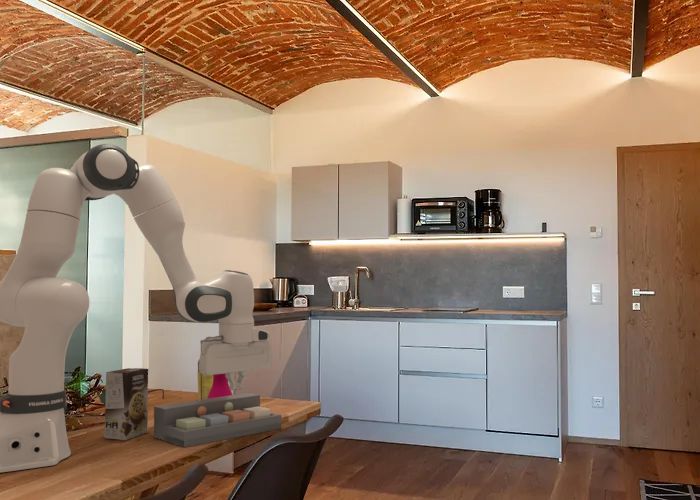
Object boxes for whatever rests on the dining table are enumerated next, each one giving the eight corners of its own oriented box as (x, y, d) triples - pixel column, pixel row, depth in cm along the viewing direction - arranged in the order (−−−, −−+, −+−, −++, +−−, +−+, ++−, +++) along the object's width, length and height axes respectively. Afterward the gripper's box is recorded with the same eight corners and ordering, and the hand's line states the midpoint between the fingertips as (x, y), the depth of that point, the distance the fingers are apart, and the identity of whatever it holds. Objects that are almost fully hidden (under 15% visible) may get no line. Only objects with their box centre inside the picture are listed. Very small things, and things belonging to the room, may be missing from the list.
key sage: (187, 431, 162) (187, 422, 162) (175, 428, 166) (176, 419, 166) (205, 428, 166) (205, 419, 166) (194, 425, 169) (194, 416, 169)
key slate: (210, 427, 167) (211, 418, 167) (199, 424, 170) (199, 415, 171) (228, 424, 170) (228, 416, 170) (216, 421, 174) (216, 413, 174)
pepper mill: (227, 419, 191) (228, 346, 192) (202, 418, 192) (203, 345, 193) (237, 414, 198) (237, 343, 199) (213, 413, 200) (213, 343, 200)
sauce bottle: (223, 404, 213) (223, 339, 214) (208, 407, 208) (209, 341, 209) (207, 402, 217) (208, 338, 217) (192, 405, 211) (193, 339, 212)
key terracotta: (233, 423, 171) (233, 415, 172) (221, 420, 175) (221, 412, 175) (249, 420, 175) (249, 412, 175) (238, 417, 178) (238, 409, 179)
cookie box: (126, 440, 166) (127, 372, 167) (103, 438, 168) (104, 371, 169) (148, 432, 175) (149, 368, 175) (127, 430, 177) (127, 367, 177)
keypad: (184, 447, 159) (184, 414, 160) (153, 437, 169) (154, 406, 170) (281, 428, 179) (281, 399, 180) (248, 420, 189) (249, 392, 190)
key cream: (254, 419, 176) (254, 411, 176) (243, 416, 180) (243, 408, 180) (270, 416, 179) (270, 409, 180) (258, 414, 183) (258, 406, 183)
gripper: (208, 338, 166) (207, 396, 166) (275, 332, 181) (275, 386, 180) (194, 336, 171) (193, 393, 170) (260, 331, 185) (260, 383, 185)
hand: (236, 389), depth 175 cm, fingers closed
